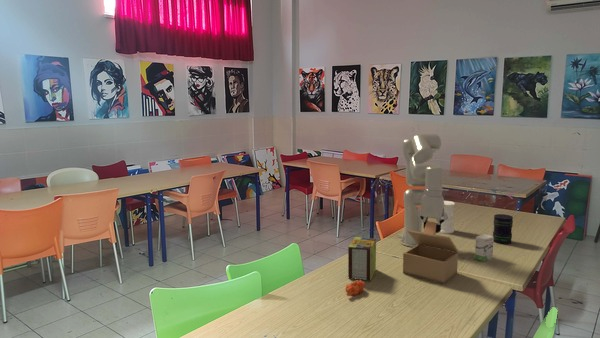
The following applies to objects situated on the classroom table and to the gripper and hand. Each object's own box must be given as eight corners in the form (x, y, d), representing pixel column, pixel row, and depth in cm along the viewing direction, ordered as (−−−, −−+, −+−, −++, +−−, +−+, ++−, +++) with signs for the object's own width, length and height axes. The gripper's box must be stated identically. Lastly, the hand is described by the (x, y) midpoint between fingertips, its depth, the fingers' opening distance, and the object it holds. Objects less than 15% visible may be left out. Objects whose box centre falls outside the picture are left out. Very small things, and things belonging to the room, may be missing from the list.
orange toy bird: (350, 286, 182) (366, 277, 191) (336, 287, 186) (352, 278, 195) (354, 298, 181) (369, 288, 190) (340, 299, 186) (355, 289, 195)
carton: (402, 273, 209) (403, 253, 207) (417, 263, 221) (417, 244, 220) (444, 284, 196) (445, 262, 195) (457, 272, 209) (458, 252, 207)
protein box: (375, 269, 214) (376, 238, 212) (370, 281, 200) (370, 248, 198) (354, 266, 218) (355, 236, 215) (347, 278, 203) (347, 246, 201)
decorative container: (456, 229, 277) (457, 201, 274) (451, 234, 267) (452, 205, 264) (437, 227, 283) (438, 199, 280) (432, 231, 273) (433, 203, 270)
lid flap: (407, 231, 208) (411, 218, 211) (417, 244, 220) (421, 231, 222) (449, 239, 196) (453, 225, 198) (458, 252, 207) (461, 239, 210)
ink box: (482, 261, 222) (484, 239, 221) (474, 258, 227) (475, 236, 225) (493, 258, 227) (494, 236, 225) (484, 255, 231) (485, 233, 229)
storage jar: (492, 243, 250) (494, 217, 248) (492, 238, 259) (493, 213, 257) (512, 245, 247) (513, 219, 244) (510, 240, 256) (512, 215, 253)
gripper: (412, 192, 206) (411, 229, 208) (448, 196, 195) (446, 236, 198) (419, 189, 211) (418, 226, 214) (454, 193, 201) (453, 232, 204)
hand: (432, 230), depth 206 cm, fingers closed on lid flap, 5 cm apart
